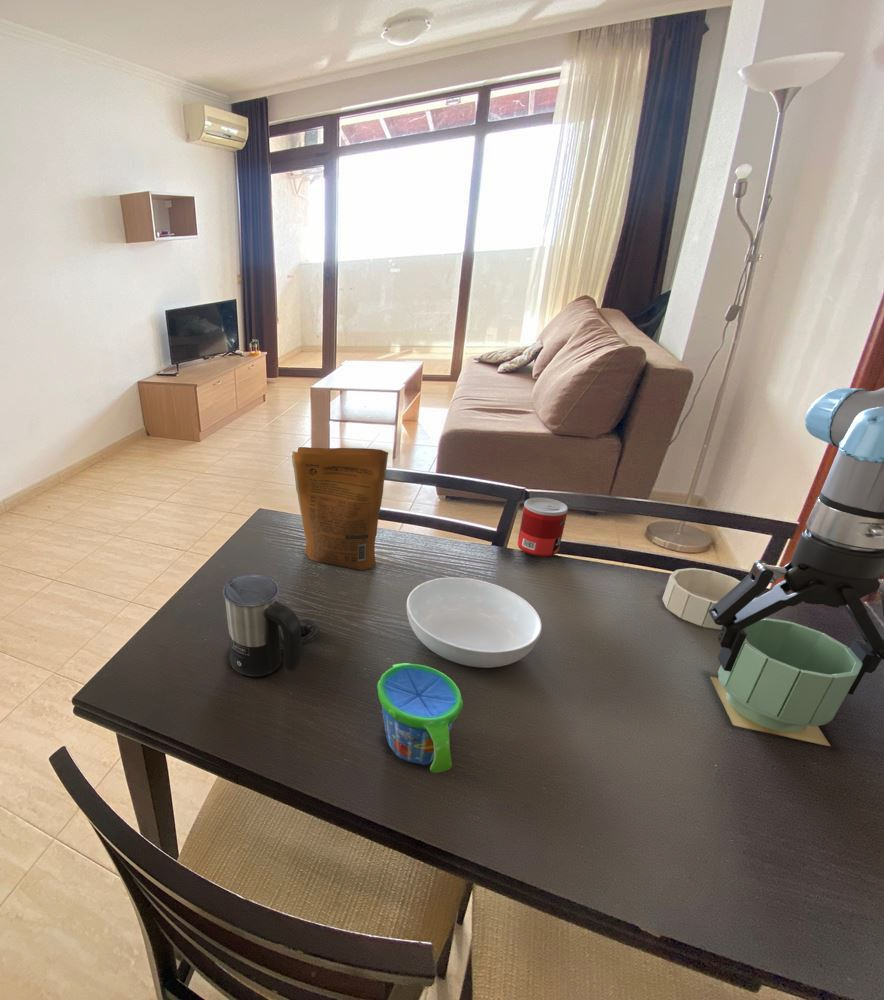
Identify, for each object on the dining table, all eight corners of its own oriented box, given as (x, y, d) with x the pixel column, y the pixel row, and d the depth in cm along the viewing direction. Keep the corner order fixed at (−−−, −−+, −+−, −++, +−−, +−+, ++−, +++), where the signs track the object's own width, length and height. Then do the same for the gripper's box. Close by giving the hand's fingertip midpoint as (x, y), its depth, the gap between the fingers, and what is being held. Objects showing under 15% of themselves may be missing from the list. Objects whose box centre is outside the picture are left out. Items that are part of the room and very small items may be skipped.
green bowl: (801, 690, 79) (833, 627, 74) (842, 753, 69) (882, 686, 64) (700, 671, 83) (724, 611, 79) (727, 728, 74) (756, 664, 69)
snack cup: (364, 703, 84) (366, 652, 79) (432, 700, 83) (439, 649, 79) (390, 795, 69) (395, 739, 65) (473, 793, 69) (484, 736, 65)
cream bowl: (731, 599, 99) (741, 574, 96) (755, 637, 90) (767, 610, 87) (656, 588, 103) (663, 564, 101) (671, 623, 94) (680, 597, 92)
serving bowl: (565, 666, 87) (573, 632, 84) (455, 700, 83) (460, 666, 80) (475, 596, 105) (480, 566, 103) (381, 621, 101) (383, 591, 98)
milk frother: (220, 670, 93) (213, 599, 86) (253, 615, 105) (249, 551, 99) (300, 691, 87) (298, 617, 80) (325, 631, 100) (325, 563, 93)
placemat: (795, 694, 79) (796, 692, 78) (830, 749, 71) (831, 746, 70) (708, 678, 83) (709, 676, 82) (731, 727, 75) (732, 725, 74)
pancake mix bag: (378, 578, 113) (385, 454, 101) (292, 562, 122) (290, 445, 110) (384, 562, 119) (392, 443, 107) (302, 547, 127) (301, 435, 115)
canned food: (561, 560, 114) (572, 514, 109) (519, 556, 117) (527, 511, 112) (554, 542, 121) (563, 498, 116) (514, 539, 123) (522, 496, 119)
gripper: (731, 538, 66) (680, 672, 76) (1024, 570, 57) (924, 720, 66) (711, 511, 72) (666, 639, 82) (972, 537, 63) (887, 678, 72)
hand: (781, 675), depth 74 cm, fingers closed on green bowl, 12 cm apart
